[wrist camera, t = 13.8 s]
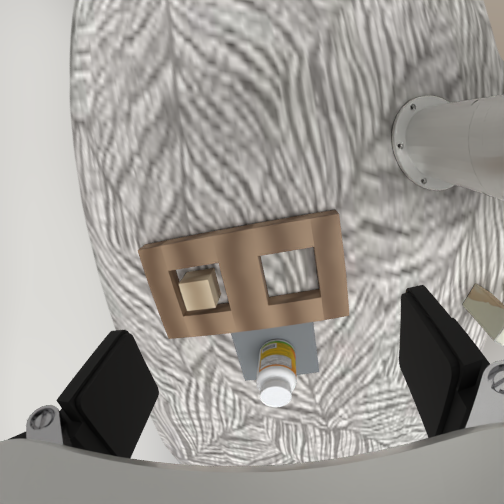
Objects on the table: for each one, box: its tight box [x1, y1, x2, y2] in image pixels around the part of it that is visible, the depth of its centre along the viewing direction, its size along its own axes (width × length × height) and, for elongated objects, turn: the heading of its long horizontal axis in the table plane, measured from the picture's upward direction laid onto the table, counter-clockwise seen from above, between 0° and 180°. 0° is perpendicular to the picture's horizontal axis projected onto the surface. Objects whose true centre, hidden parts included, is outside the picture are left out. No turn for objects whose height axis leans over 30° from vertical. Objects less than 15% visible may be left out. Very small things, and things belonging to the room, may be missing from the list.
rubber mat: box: [231, 322, 319, 381], centre depth 46 cm, size 12×10×1 cm
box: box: [463, 284, 504, 346], centre depth 35 cm, size 5×4×11 cm
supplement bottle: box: [256, 339, 297, 407], centre depth 41 cm, size 5×5×10 cm
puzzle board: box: [138, 210, 349, 339], centre depth 41 cm, size 26×14×2 cm, turn 102°
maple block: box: [179, 268, 221, 311], centre depth 41 cm, size 4×4×4 cm
